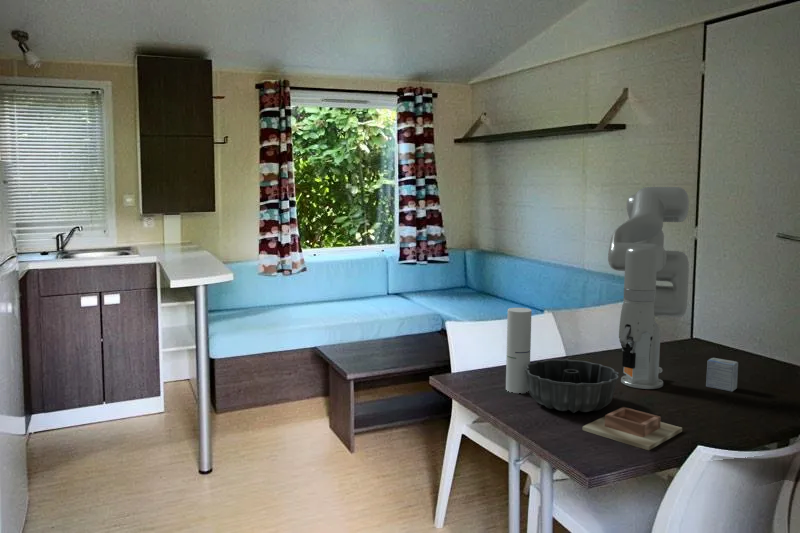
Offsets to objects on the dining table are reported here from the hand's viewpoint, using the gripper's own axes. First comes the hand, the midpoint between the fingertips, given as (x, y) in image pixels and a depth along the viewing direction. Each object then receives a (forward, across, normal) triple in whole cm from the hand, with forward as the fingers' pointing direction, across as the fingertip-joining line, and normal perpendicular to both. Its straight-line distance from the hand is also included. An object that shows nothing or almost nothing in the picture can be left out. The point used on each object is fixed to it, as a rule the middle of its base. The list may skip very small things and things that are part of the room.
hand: (636, 364), depth 174 cm
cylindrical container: (+18, -6, -41) cm, 45 cm away
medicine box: (+18, -54, +1) cm, 57 cm away
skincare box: (+3, 0, 0) cm, 3 cm away
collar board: (+18, 0, 0) cm, 18 cm away
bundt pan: (+18, -7, -23) cm, 30 cm away
